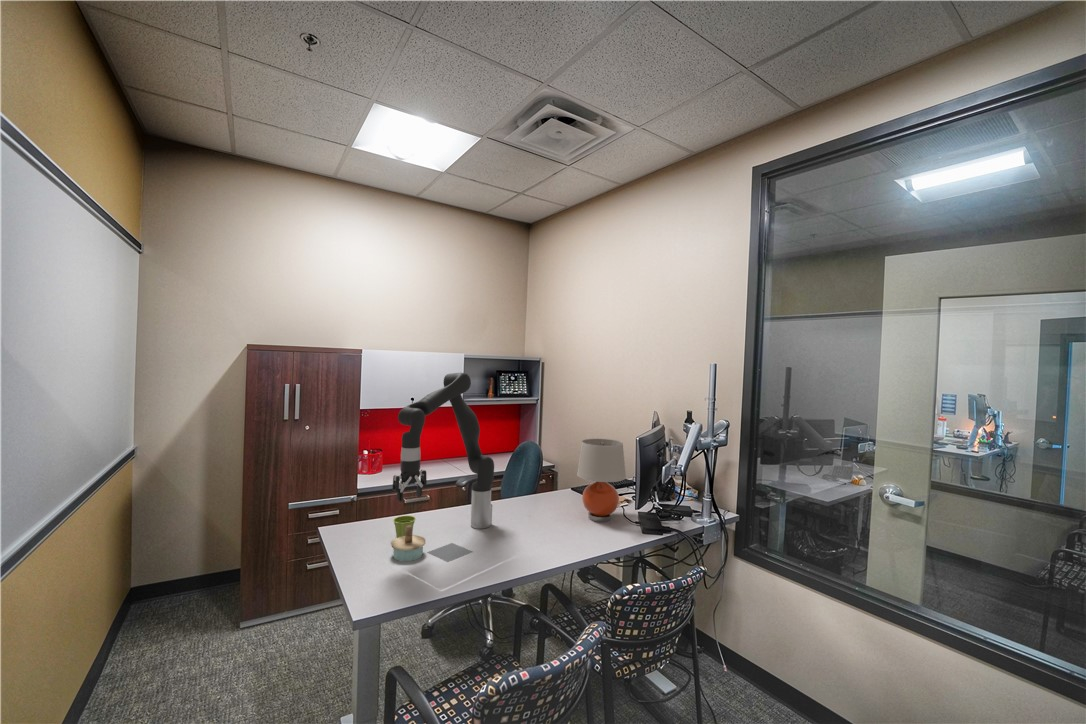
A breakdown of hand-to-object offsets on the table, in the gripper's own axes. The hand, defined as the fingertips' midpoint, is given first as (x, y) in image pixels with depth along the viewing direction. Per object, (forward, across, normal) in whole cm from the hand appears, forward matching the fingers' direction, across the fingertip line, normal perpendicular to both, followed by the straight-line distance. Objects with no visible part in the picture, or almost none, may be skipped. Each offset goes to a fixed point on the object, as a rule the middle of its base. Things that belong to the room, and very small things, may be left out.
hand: (409, 498), depth 182 cm
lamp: (+23, -92, +32) cm, 100 cm away
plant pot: (+23, -9, -16) cm, 30 cm away
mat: (+23, -13, +10) cm, 28 cm away
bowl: (+23, 0, 0) cm, 23 cm away
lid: (+18, 0, 0) cm, 18 cm away
